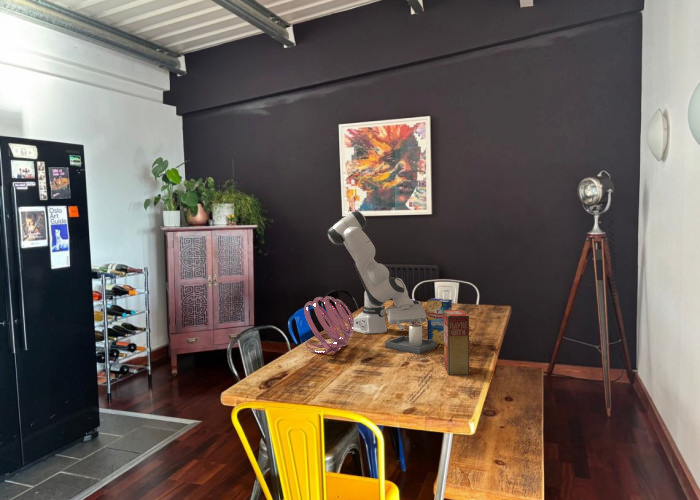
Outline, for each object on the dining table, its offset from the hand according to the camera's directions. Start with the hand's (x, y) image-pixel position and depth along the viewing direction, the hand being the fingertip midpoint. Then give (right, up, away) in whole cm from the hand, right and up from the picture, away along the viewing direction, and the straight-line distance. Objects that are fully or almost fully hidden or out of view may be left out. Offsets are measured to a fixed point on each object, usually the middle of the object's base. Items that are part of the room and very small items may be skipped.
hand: (411, 328), depth 259 cm
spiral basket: (-41, -10, -6) cm, 42 cm away
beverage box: (+16, -8, +8) cm, 20 cm away
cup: (+2, -8, -6) cm, 10 cm away
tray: (0, -9, -2) cm, 9 cm away
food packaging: (+15, -12, -39) cm, 43 cm away
